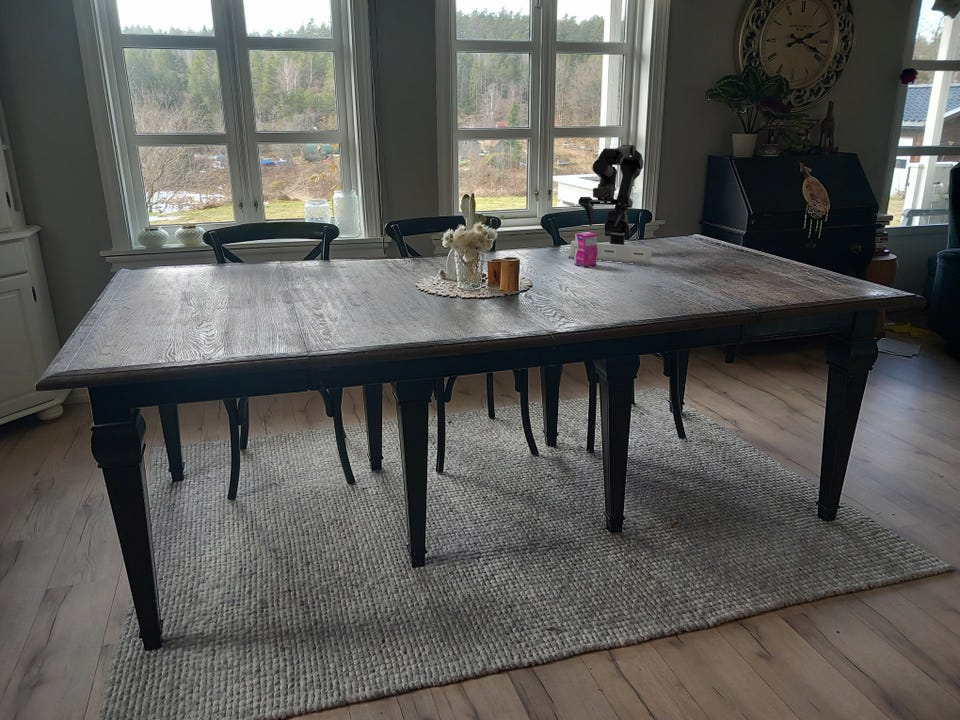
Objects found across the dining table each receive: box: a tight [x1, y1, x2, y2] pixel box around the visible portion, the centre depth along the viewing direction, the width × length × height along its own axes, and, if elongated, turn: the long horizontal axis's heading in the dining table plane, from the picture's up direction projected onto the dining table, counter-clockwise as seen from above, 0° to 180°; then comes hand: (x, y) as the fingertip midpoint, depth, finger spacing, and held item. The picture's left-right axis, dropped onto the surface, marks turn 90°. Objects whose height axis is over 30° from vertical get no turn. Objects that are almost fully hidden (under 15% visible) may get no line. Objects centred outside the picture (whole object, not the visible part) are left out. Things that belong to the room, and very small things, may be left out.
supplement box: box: [573, 231, 598, 268], centre depth 255 cm, size 6×6×12 cm
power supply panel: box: [568, 240, 653, 266], centre depth 264 cm, size 6×30×6 cm, turn 62°
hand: (602, 225), depth 259 cm, fingers open, 9 cm apart
